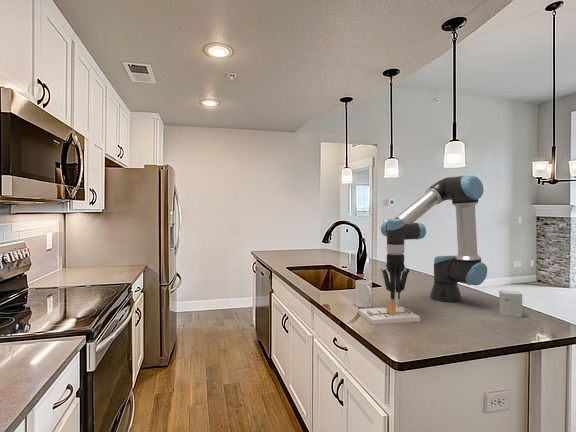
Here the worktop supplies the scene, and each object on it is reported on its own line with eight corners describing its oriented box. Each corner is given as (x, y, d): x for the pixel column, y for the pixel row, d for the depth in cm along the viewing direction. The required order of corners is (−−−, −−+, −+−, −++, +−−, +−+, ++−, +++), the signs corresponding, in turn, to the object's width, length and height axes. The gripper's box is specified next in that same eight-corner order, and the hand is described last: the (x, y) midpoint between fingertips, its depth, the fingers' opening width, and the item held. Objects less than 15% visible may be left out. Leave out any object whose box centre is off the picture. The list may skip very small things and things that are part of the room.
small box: (518, 314, 162) (519, 291, 162) (522, 317, 156) (522, 294, 156) (499, 312, 164) (499, 290, 164) (501, 315, 159) (502, 292, 159)
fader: (391, 311, 159) (391, 300, 159) (395, 313, 155) (395, 302, 155) (386, 311, 158) (386, 300, 158) (390, 314, 154) (390, 302, 154)
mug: (377, 308, 171) (377, 284, 170) (361, 309, 169) (361, 285, 169) (368, 302, 182) (368, 279, 182) (352, 303, 181) (352, 280, 180)
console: (401, 310, 167) (401, 304, 167) (420, 321, 152) (420, 314, 152) (357, 313, 163) (358, 306, 163) (372, 324, 148) (372, 317, 148)
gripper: (404, 252, 161) (404, 303, 162) (378, 252, 159) (377, 304, 159) (413, 254, 154) (412, 307, 154) (385, 255, 151) (385, 309, 152)
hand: (395, 306), depth 157 cm, fingers closed
